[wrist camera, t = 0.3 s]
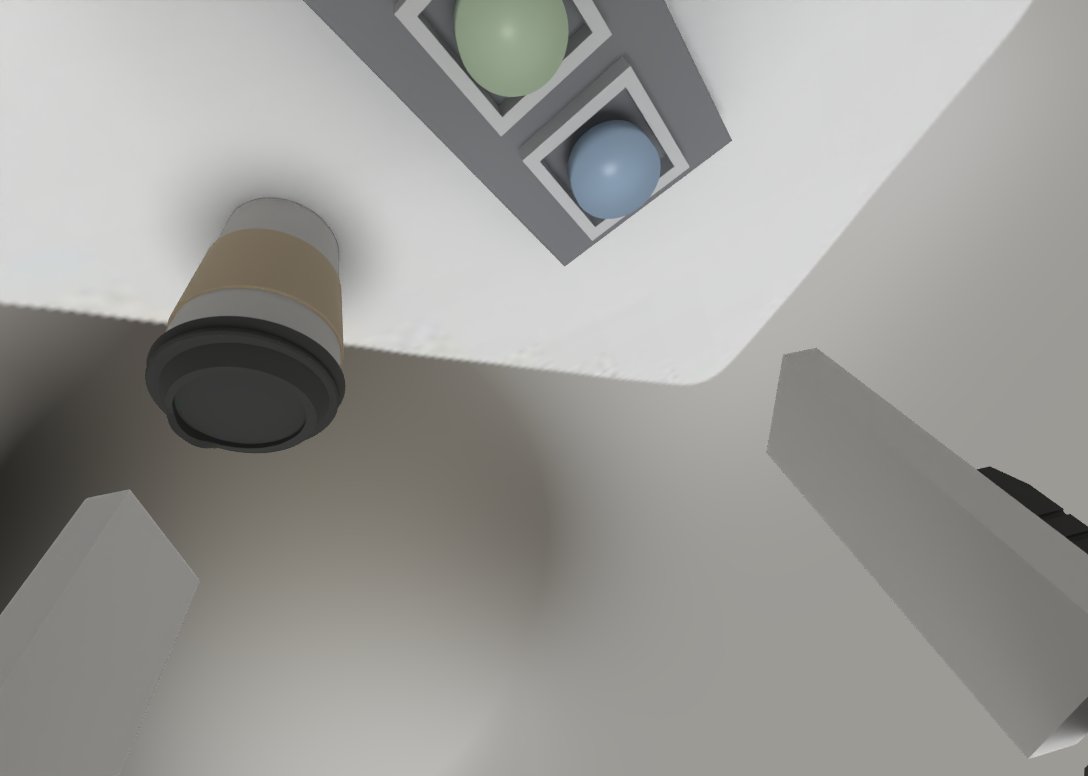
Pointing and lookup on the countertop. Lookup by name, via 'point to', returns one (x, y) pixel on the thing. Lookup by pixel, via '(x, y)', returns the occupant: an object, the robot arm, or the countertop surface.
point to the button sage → (511, 42)
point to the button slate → (613, 169)
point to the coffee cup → (255, 335)
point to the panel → (542, 101)
